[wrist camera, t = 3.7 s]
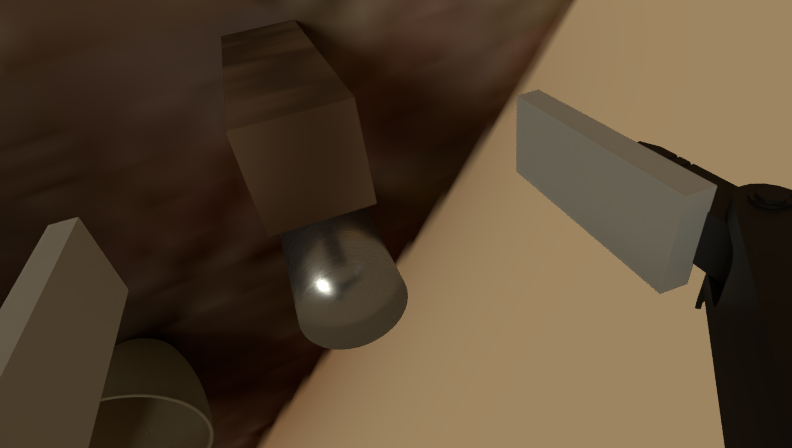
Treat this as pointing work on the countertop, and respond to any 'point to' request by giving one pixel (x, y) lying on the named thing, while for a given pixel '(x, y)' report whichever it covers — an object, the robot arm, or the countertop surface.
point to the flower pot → (151, 400)
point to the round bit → (343, 281)
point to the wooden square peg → (292, 129)
